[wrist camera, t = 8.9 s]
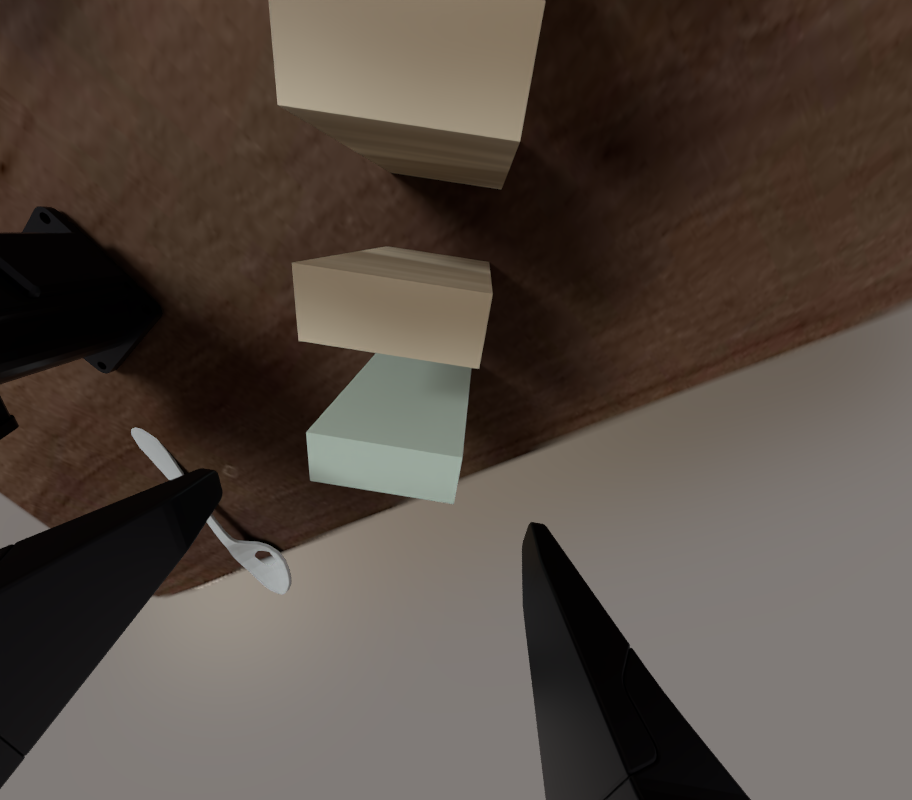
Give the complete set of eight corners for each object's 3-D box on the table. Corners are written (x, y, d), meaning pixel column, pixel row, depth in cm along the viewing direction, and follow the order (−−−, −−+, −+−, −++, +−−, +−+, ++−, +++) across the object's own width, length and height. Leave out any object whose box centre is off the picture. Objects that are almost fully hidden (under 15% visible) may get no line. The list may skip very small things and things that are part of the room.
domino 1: (501, 189, 15) (520, 141, 7) (390, 172, 15) (277, 105, 7) (510, 133, 14) (545, 0, 6) (392, 115, 14) (265, -41, 6)
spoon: (275, 582, 30) (265, 600, 29) (79, 395, 22) (51, 407, 21) (311, 572, 29) (302, 590, 28) (118, 372, 21) (91, 383, 20)
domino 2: (482, 303, 17) (479, 368, 9) (385, 288, 17) (298, 340, 9) (488, 261, 16) (492, 293, 8) (387, 246, 16) (291, 262, 8)
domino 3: (466, 391, 19) (453, 504, 11) (382, 377, 19) (310, 480, 11) (472, 359, 18) (462, 457, 10) (383, 344, 18) (305, 432, 10)
